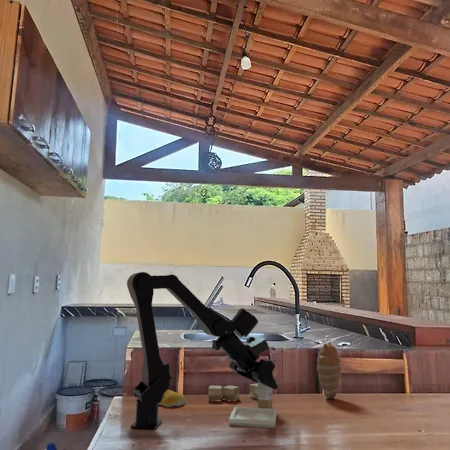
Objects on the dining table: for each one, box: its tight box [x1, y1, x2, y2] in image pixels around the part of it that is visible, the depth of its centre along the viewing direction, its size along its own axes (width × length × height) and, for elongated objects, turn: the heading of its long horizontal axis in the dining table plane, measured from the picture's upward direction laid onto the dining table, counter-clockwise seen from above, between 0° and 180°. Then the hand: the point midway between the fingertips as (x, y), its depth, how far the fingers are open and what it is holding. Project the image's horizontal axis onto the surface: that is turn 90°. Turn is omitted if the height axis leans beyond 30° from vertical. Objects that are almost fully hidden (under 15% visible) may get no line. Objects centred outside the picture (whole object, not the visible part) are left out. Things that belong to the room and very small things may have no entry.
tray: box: [228, 406, 278, 429], centre depth 111 cm, size 12×12×2 cm
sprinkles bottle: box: [257, 382, 274, 409], centre depth 121 cm, size 5×5×13 cm
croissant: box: [316, 341, 342, 400], centre depth 136 cm, size 9×8×18 cm
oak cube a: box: [207, 385, 223, 401], centre depth 132 cm, size 4×4×4 cm
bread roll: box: [158, 389, 186, 408], centre depth 127 cm, size 8×9×4 cm
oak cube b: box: [222, 385, 240, 402], centre depth 132 cm, size 4×4×4 cm
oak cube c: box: [249, 382, 258, 400], centre depth 136 cm, size 4×4×4 cm
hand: (268, 385), depth 121 cm, fingers open, 9 cm apart
